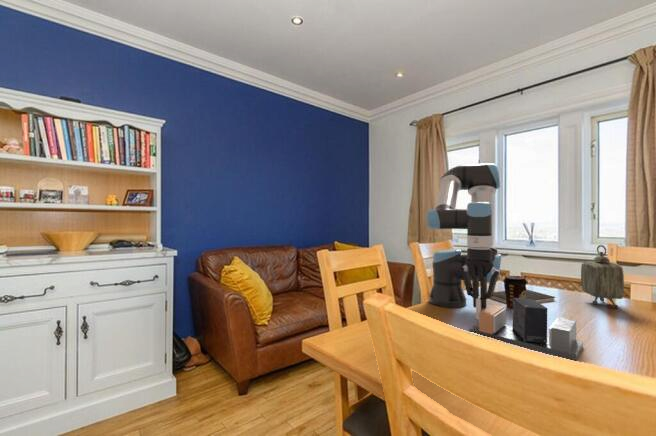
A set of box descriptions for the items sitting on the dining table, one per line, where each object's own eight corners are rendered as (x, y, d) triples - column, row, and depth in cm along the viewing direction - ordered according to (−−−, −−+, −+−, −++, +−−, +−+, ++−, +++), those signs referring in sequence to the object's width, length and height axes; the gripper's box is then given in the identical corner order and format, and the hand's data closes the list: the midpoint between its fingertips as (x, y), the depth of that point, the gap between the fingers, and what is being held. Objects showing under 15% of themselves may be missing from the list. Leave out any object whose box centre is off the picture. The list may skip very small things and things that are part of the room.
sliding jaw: (479, 330, 101) (478, 312, 101) (491, 321, 110) (491, 304, 110) (494, 334, 98) (494, 315, 98) (506, 324, 107) (506, 307, 106)
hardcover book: (555, 302, 139) (555, 296, 139) (513, 307, 133) (513, 301, 133) (523, 293, 154) (523, 288, 154) (485, 297, 148) (485, 292, 148)
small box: (549, 344, 91) (549, 307, 91) (524, 342, 92) (523, 306, 92) (534, 330, 101) (533, 298, 101) (511, 329, 103) (511, 297, 102)
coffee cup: (526, 307, 131) (526, 275, 130) (529, 313, 123) (529, 279, 123) (502, 304, 134) (502, 274, 134) (504, 310, 127) (504, 278, 126)
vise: (468, 333, 104) (468, 310, 104) (482, 323, 112) (482, 302, 112) (576, 360, 84) (576, 332, 84) (582, 346, 92) (582, 321, 92)
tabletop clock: (623, 310, 124) (623, 247, 124) (596, 308, 127) (595, 246, 127) (604, 300, 138) (604, 243, 138) (580, 299, 141) (579, 243, 141)
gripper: (455, 247, 108) (456, 316, 109) (496, 250, 99) (496, 325, 99) (464, 246, 114) (465, 311, 114) (504, 248, 104) (504, 319, 105)
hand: (479, 317), depth 107 cm, fingers closed
